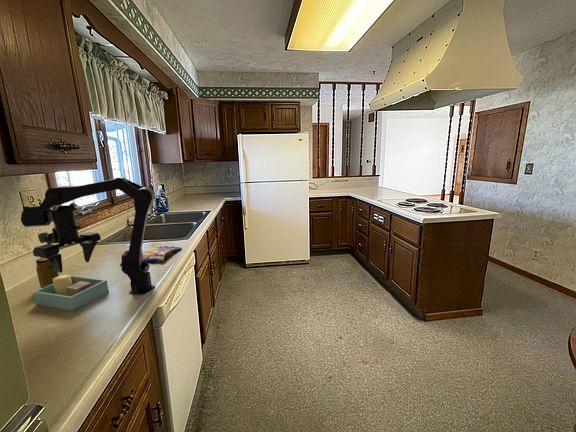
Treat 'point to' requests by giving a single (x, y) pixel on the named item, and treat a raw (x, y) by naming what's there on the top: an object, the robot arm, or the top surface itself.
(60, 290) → the yellow teardrop shape
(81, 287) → the walnut cube
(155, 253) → the food package
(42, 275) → the condiment
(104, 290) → the tote
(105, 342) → the top surface
